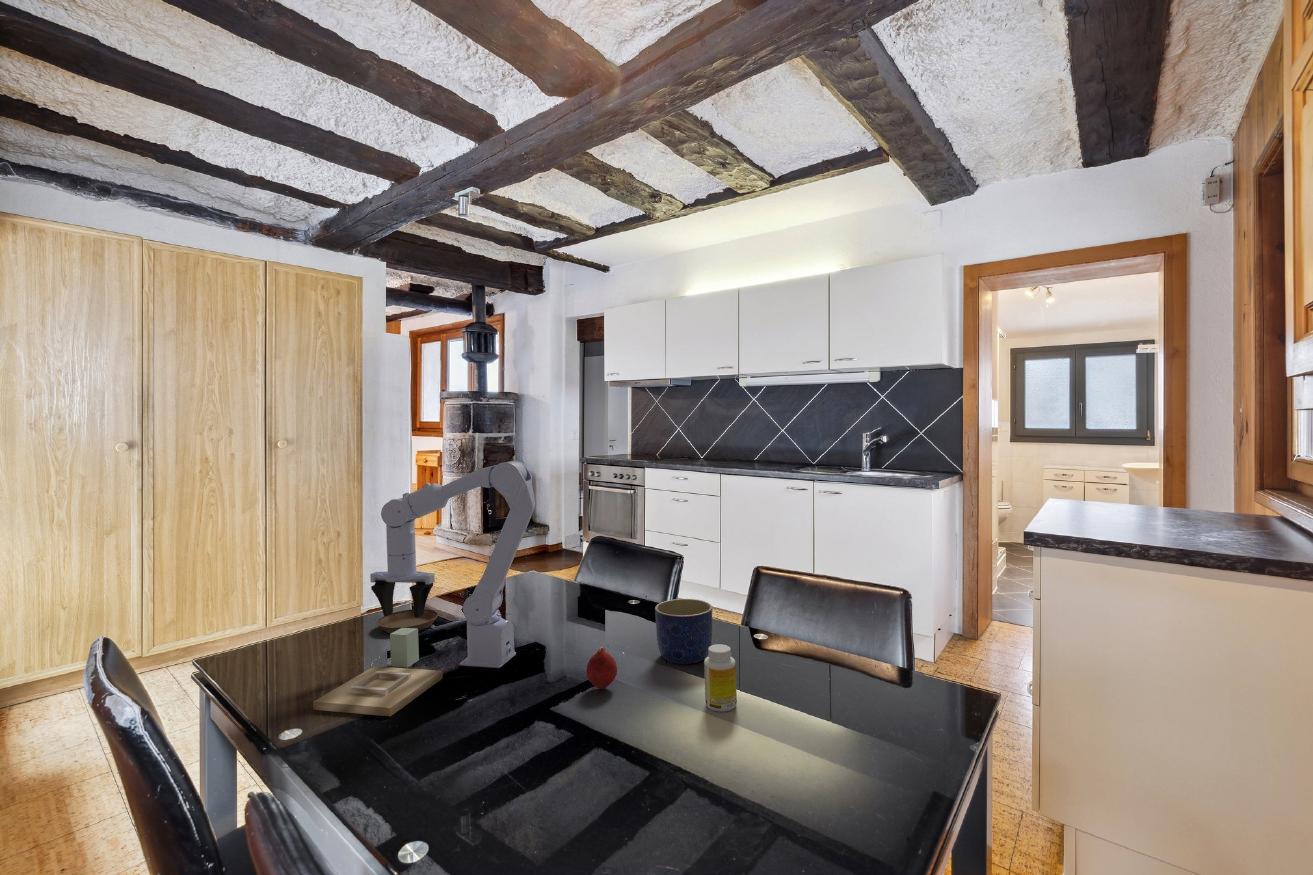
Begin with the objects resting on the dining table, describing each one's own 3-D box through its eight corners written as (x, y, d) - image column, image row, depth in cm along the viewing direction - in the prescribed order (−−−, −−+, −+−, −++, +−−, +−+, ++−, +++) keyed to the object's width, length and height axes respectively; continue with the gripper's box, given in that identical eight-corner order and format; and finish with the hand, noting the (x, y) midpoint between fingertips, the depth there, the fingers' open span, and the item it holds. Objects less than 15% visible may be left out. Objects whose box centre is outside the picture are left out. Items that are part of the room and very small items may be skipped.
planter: (647, 664, 122) (646, 612, 122) (668, 643, 133) (667, 596, 133) (703, 671, 117) (702, 618, 117) (720, 649, 128) (719, 601, 128)
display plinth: (442, 678, 117) (442, 665, 117) (390, 716, 102) (390, 702, 102) (374, 673, 121) (373, 661, 121) (313, 709, 105) (313, 695, 105)
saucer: (444, 628, 149) (444, 618, 149) (382, 641, 141) (381, 630, 141) (431, 614, 161) (430, 605, 161) (372, 626, 153) (372, 615, 153)
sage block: (418, 659, 128) (417, 628, 128) (407, 667, 124) (406, 634, 124) (402, 658, 128) (401, 627, 128) (391, 666, 125) (390, 633, 125)
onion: (612, 697, 107) (611, 654, 107) (582, 695, 108) (581, 652, 108) (620, 683, 112) (619, 642, 112) (592, 681, 114) (591, 641, 114)
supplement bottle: (743, 708, 101) (741, 650, 101) (716, 715, 99) (714, 656, 99) (725, 695, 106) (724, 640, 106) (699, 702, 104) (697, 645, 104)
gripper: (359, 556, 124) (361, 619, 124) (419, 557, 120) (421, 622, 121) (381, 550, 130) (383, 609, 131) (439, 551, 127) (441, 612, 127)
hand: (403, 615), depth 126 cm, fingers open, 7 cm apart
